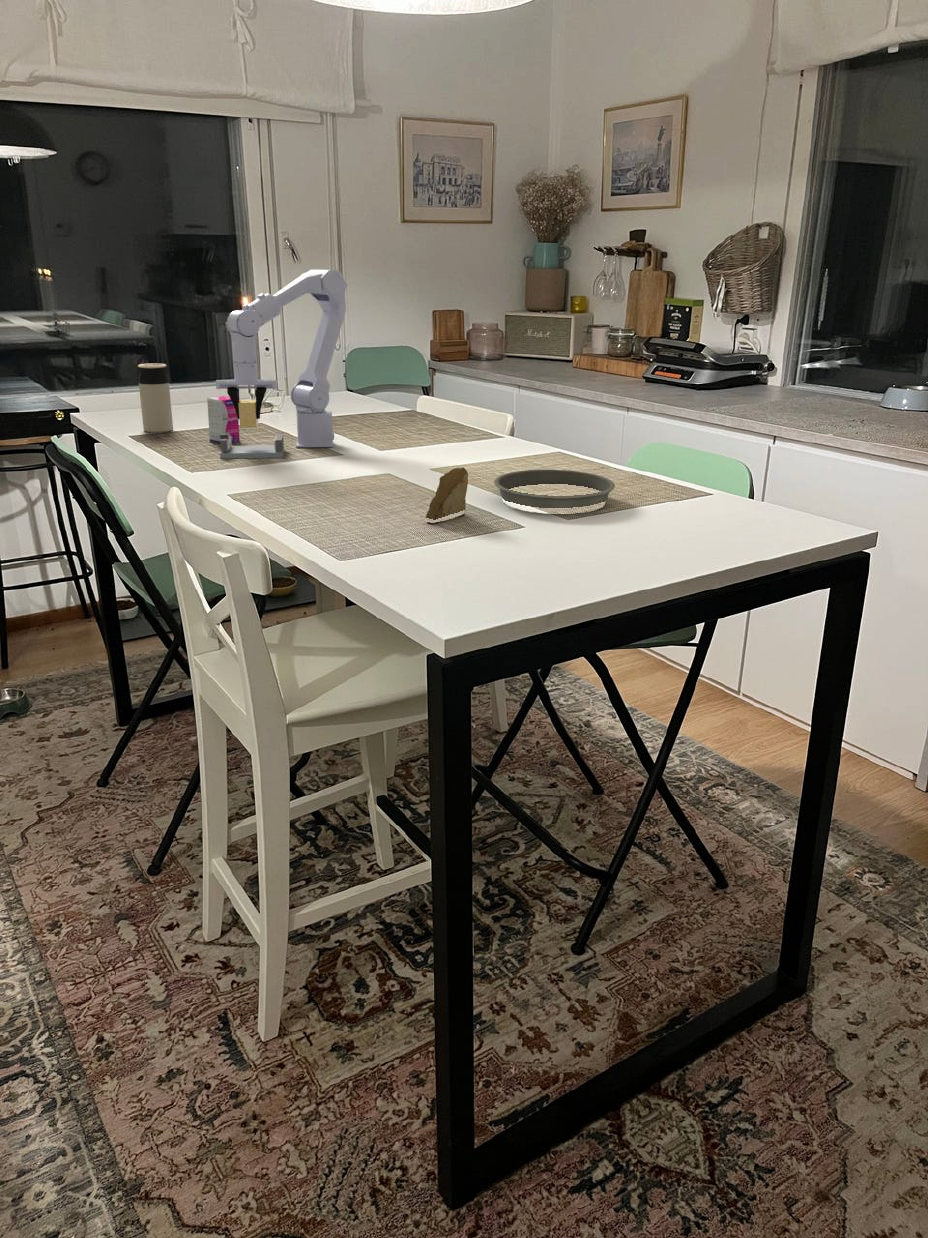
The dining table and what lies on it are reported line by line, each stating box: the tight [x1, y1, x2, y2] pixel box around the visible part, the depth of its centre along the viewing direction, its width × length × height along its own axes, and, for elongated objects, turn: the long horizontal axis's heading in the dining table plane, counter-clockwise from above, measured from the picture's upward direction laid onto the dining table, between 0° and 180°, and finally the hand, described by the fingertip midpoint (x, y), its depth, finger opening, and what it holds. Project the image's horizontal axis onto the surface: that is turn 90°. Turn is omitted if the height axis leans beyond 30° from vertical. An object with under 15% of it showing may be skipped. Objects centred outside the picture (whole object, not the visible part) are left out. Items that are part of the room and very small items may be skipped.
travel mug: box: [137, 363, 174, 433], centre depth 266 cm, size 8×8×18 cm
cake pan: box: [493, 469, 616, 508], centre depth 196 cm, size 25×25×4 cm
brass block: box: [238, 399, 259, 429], centre depth 237 cm, size 4×6×6 cm, turn 7°
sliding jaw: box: [219, 433, 233, 452], centre depth 237 cm, size 2×9×4 cm, turn 8°
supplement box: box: [206, 395, 241, 444], centre depth 253 cm, size 6×6×12 cm
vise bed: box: [219, 433, 285, 459], centre depth 239 cm, size 15×10×4 cm, turn 98°
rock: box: [425, 466, 469, 520], centre depth 183 cm, size 11×9×10 cm
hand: (248, 418), depth 238 cm, fingers closed on brass block, 4 cm apart
